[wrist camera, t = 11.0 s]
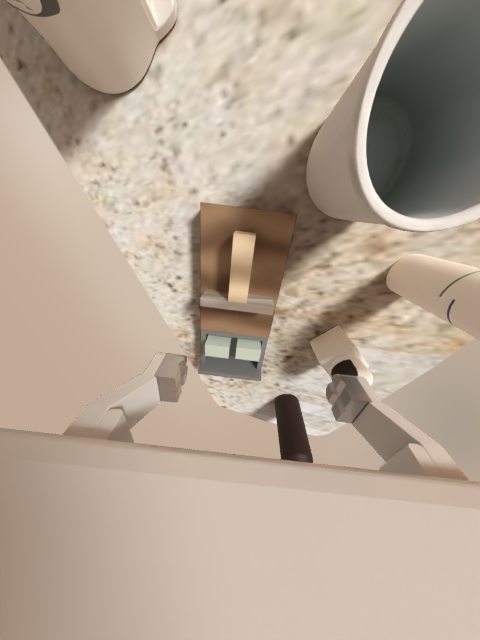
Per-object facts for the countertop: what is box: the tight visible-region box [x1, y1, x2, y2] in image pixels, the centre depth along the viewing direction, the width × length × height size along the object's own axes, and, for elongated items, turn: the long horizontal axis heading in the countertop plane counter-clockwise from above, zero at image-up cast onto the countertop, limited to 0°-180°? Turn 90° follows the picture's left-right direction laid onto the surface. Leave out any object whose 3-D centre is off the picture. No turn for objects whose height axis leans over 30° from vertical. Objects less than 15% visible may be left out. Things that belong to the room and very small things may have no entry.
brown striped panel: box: [200, 202, 297, 338], centre depth 34 cm, size 22×14×4 cm, turn 174°
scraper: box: [200, 231, 274, 315], centre depth 29 cm, size 12×12×4 cm
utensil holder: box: [306, 0, 480, 232], centre depth 19 cm, size 15×15×18 cm
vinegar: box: [275, 394, 313, 463], centre depth 44 cm, size 7×7×20 cm
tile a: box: [205, 334, 231, 359], centre depth 40 cm, size 5×5×3 cm
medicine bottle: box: [310, 326, 373, 386], centre depth 37 cm, size 7×7×12 cm
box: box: [198, 330, 268, 381], centre depth 41 cm, size 10×14×6 cm
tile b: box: [235, 338, 261, 362], centre depth 40 cm, size 5×5×3 cm
